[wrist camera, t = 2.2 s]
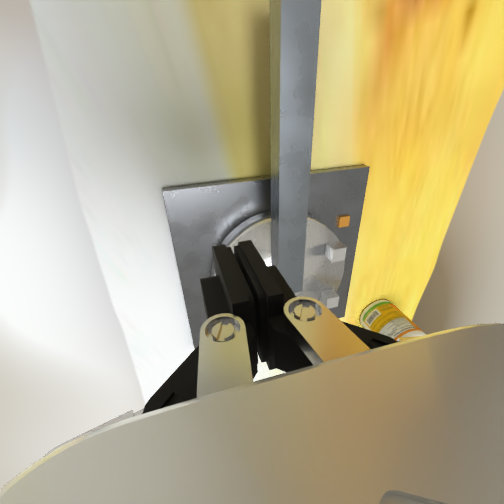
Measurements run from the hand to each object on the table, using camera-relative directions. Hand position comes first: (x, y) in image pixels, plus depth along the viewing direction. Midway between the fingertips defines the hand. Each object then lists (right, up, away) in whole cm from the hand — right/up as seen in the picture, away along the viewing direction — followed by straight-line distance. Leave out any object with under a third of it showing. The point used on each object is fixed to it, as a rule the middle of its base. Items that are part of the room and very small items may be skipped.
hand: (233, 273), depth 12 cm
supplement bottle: (+19, -8, +29) cm, 36 cm away
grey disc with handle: (+3, +5, +15) cm, 16 cm away
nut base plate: (+3, 0, +20) cm, 20 cm away
